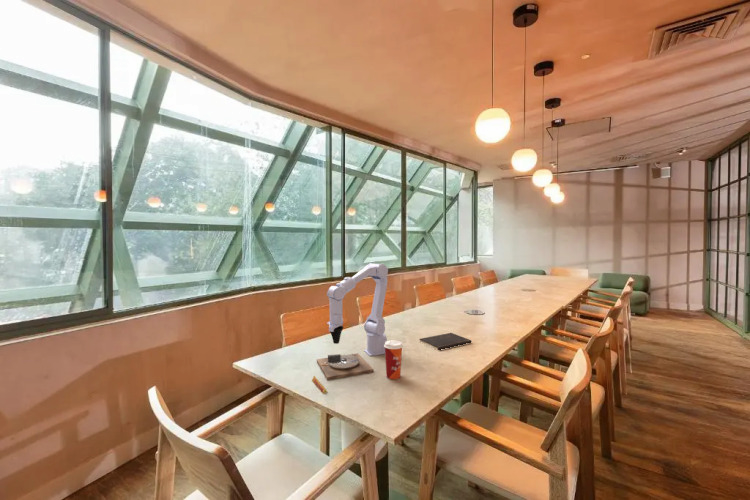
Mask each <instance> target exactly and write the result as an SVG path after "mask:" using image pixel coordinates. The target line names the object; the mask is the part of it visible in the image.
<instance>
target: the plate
mask: <svg viewBox="0 0 750 500" xmlns="http://www.w3.org/2000/svg"><path fill="white" fill-rule="evenodd" d="M349 355H352V356H355V357H357V358H358V359H359V364H358V366H356V367H354V368H351V369H345V370H340V369H334V368H332V367H330V366H329V362H328V357H325V358H316V363H317V365H318V366H319V369H320V370H321V372H322V373H323V375H324V377H325V379H326V381H330V380H334V379H342V378H347V377H353V376H358V375H364V374H370V373H374V368H373V367H372V366H371V365H370V363H369V362H367V361H366V360H365V359H364V358H363V357H362V356H361V355H360V354H359V353H351V354H349Z"/></svg>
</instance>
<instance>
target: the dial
mask: <svg viewBox="0 0 750 500" xmlns="http://www.w3.org/2000/svg"><path fill="white" fill-rule="evenodd" d="M327 358H328V362H329V366H330V367H332V368H334V369H340V370H345V369H351V368H354V367H356V366H358V364H359V359H358V358H357V357H355V356H352V355H350V354H342V355H341V354H328V355H327Z"/></svg>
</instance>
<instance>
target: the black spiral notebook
mask: <svg viewBox="0 0 750 500" xmlns="http://www.w3.org/2000/svg"><path fill="white" fill-rule="evenodd" d="M421 342H422V343H421ZM471 342H472V340H471V339H469V338H466V337H464V336H462V335H458V334H455V333H453V332H448V333H444V334H443V333H442V334H438V335H431V336H427V337H422V338H421V337H420V338H419V343H421V344H423V343H424V344H423V345H425V344H426V345H425V346H427V345H428V347H429V346H431V347H433V348H435V349H434V350H436V349H437V350H436V351H438V350H440V351H442V350H441V349H445V348H449V349H451V348H450V347H454V346H458V345H463V344H466V343H471ZM463 346H464V345H463ZM431 347H430V348H431ZM433 348H432V349H433ZM454 348H455V347H454ZM445 350H446V349H445Z"/></svg>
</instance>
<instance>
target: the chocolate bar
mask: <svg viewBox="0 0 750 500" xmlns="http://www.w3.org/2000/svg"><path fill="white" fill-rule="evenodd" d="M311 382H312V383H313V384H314V385H315V387H316V388H317V389H318V390H319V391H320V392H321V393H322V394H325V393H328V390H327V389H326V387H325V386H324V385H323V384H322V383H321V381H320V380H318V378H317V377H316V376H315V375H314V376H313V377H312V379H311Z"/></svg>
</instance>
